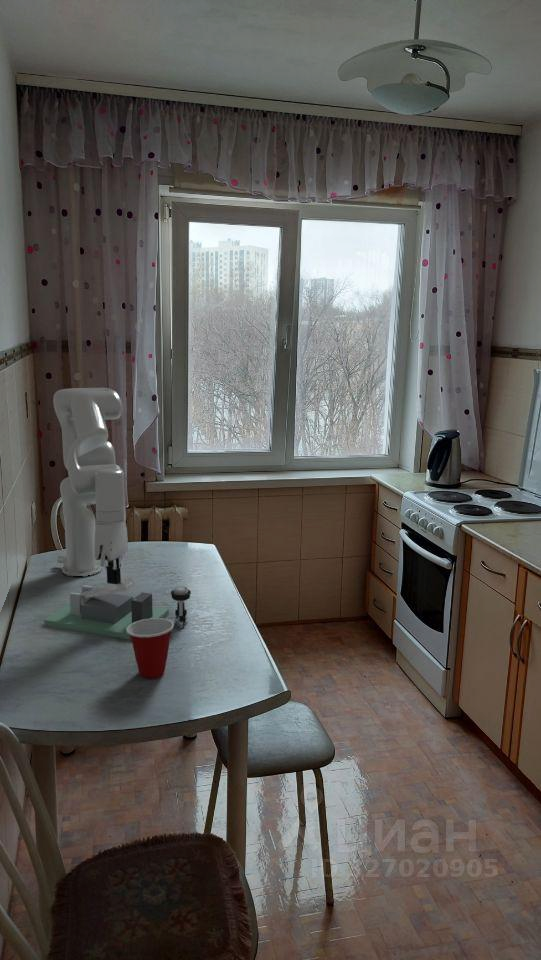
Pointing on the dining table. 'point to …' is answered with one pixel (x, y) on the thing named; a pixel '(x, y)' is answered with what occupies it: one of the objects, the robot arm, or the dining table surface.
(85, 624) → the board
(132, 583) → the retention strap
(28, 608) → the dining table surface
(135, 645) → the plastic cup
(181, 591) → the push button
